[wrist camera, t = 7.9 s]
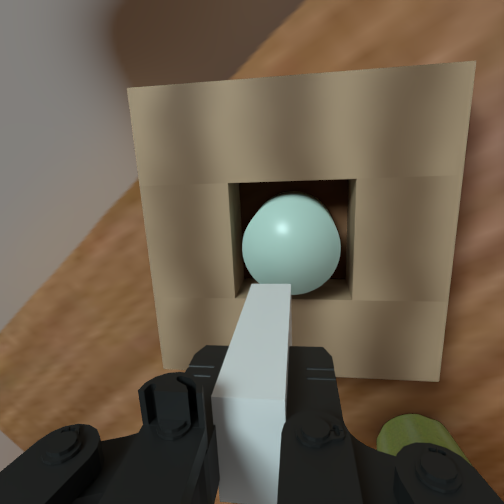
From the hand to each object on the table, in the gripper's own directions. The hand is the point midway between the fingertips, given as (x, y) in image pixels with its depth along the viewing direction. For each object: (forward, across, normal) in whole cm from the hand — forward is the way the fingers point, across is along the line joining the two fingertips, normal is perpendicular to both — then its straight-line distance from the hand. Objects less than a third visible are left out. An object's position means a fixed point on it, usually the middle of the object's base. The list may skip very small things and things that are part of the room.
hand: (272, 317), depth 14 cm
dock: (+14, +1, 0) cm, 14 cm away
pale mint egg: (+14, +1, 0) cm, 14 cm away
